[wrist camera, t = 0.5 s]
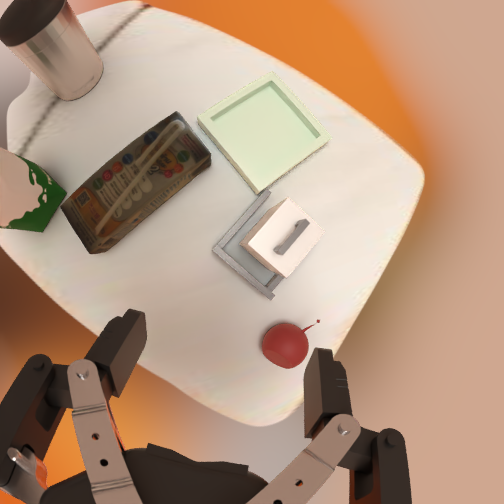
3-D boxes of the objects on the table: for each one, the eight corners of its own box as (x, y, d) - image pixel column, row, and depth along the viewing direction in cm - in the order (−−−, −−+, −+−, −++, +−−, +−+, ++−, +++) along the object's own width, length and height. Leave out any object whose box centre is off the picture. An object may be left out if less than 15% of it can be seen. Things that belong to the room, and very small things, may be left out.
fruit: (300, 341, 42) (335, 334, 35) (281, 372, 39) (316, 371, 32) (270, 315, 41) (303, 304, 35) (249, 347, 38) (280, 342, 32)
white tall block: (239, 243, 39) (250, 243, 25) (269, 208, 39) (296, 191, 26) (267, 268, 39) (293, 281, 26) (297, 234, 39) (335, 229, 26)
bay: (212, 249, 38) (212, 250, 34) (264, 190, 39) (270, 184, 35) (265, 294, 39) (270, 300, 35) (314, 236, 40) (325, 235, 36)
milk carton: (74, 191, 36) (-16, 157, 16) (43, 241, 35) (-53, 241, 15) (42, 160, 35) (-41, 119, 15) (13, 208, 34) (-76, 192, 14)
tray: (198, 124, 37) (197, 116, 35) (269, 79, 38) (272, 70, 36) (256, 195, 39) (259, 191, 36) (326, 143, 40) (332, 137, 37)
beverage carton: (215, 167, 38) (214, 152, 32) (105, 256, 37) (86, 258, 30) (181, 125, 37) (175, 105, 31) (76, 211, 36) (54, 206, 29)
